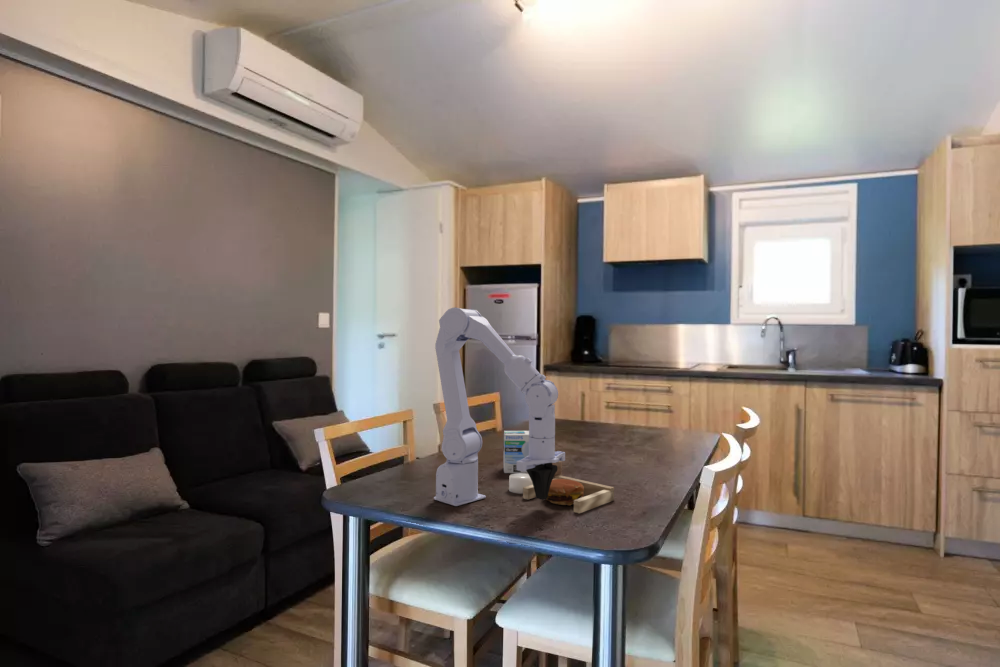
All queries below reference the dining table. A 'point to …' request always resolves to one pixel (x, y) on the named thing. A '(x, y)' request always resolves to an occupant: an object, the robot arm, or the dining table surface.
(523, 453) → the light bulb box
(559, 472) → the pepper mill
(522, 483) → the white dome
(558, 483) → the burger
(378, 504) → the dining table surface
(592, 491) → the bay
